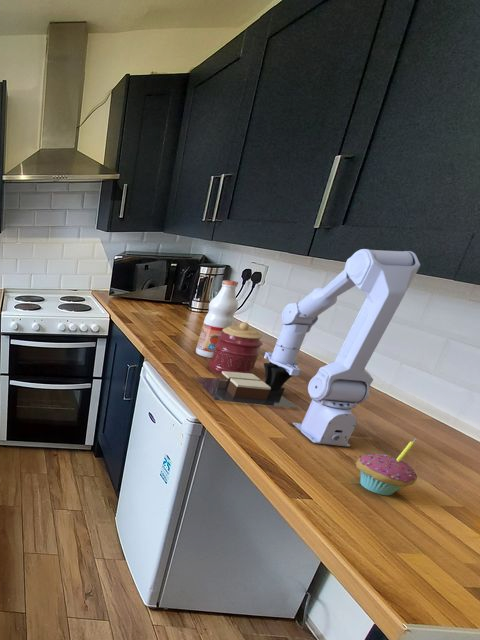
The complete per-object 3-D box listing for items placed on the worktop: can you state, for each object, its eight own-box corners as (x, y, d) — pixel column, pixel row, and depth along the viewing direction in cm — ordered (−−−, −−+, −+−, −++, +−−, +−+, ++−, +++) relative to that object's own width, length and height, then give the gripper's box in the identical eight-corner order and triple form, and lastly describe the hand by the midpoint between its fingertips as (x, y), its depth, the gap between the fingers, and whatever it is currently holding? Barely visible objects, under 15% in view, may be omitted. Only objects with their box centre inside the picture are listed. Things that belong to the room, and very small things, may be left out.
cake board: (297, 409, 113) (298, 407, 113) (214, 402, 116) (215, 400, 115) (264, 384, 129) (264, 382, 129) (192, 378, 132) (192, 376, 132)
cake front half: (266, 400, 117) (271, 387, 115) (233, 397, 118) (237, 384, 116) (258, 393, 121) (262, 381, 119) (226, 390, 122) (230, 378, 121)
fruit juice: (206, 349, 160) (227, 278, 149) (228, 357, 152) (252, 283, 141) (189, 352, 157) (209, 279, 145) (210, 360, 149) (233, 284, 137)
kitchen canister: (216, 377, 133) (232, 325, 126) (202, 363, 145) (216, 315, 138) (258, 381, 131) (277, 329, 124) (241, 367, 143) (257, 319, 136)
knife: (278, 393, 122) (281, 384, 121) (282, 395, 120) (285, 386, 119) (215, 387, 124) (218, 378, 123) (218, 390, 122) (221, 381, 121)
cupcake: (380, 477, 85) (408, 428, 80) (417, 504, 77) (451, 452, 72) (337, 473, 85) (362, 424, 80) (370, 500, 77) (399, 448, 73)
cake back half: (256, 391, 122) (260, 379, 121) (224, 388, 123) (228, 376, 122) (248, 385, 126) (252, 373, 125) (218, 382, 128) (222, 371, 126)
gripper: (319, 355, 108) (300, 400, 114) (288, 339, 121) (272, 380, 127) (290, 353, 109) (273, 398, 114) (263, 337, 122) (248, 378, 128)
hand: (271, 388), depth 121 cm, fingers closed on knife, 2 cm apart
